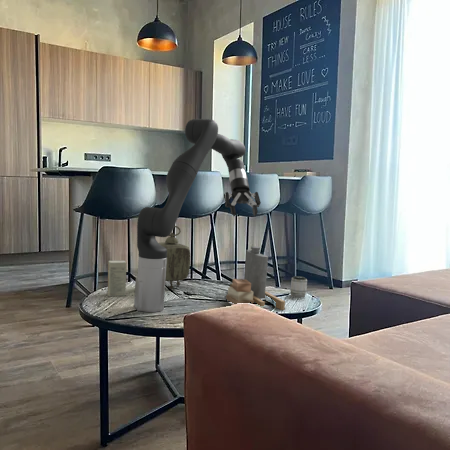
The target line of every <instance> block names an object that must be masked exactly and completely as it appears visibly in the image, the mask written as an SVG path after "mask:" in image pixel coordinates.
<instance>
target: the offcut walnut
mask: <svg viewBox="0 0 450 450" xmlns="http://www.w3.org/2000/svg"><path fill="white" fill-rule="evenodd" d="M226 299H227V300H228V301H230V302H232V303H234V304H237V303H250V302H251V303H252V304H253V303H254V300H243V301H238V300H236V299H234V298H232V297H230V296H228V294H226V297H225V300H226Z"/></svg>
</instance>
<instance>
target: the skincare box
mask: <svg viewBox="0 0 450 450" xmlns="http://www.w3.org/2000/svg"><path fill="white" fill-rule="evenodd" d="M107 265H108V266H107V269H108V270H107V296H109V297H112V296H115V297H118V296H120V297H121V296H126V292H127V291H126V286H127V284H126V283H127V281H126V280H127V261H126V260H108V263H107Z"/></svg>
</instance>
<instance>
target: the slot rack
mask: <svg viewBox="0 0 450 450" xmlns="http://www.w3.org/2000/svg"><path fill="white" fill-rule="evenodd" d="M229 287H232V283H230V284H229ZM265 295H266V296H268V297H270V298H272V299H273V300H274V301H275V302H276V307H275V308H277V309H278V310H280V311H282V310H283V311H285V309H286V308H285V307H286V301H285V300H283V299H281V298H280V297H277V296H276V295H274V294H272V293H270V292H269V291H266V290H265ZM253 300H254V302H256V303H257V304H258V305H260V306H264V305H266V301H262V300H261V299H259V298H257V297H255V296H254V295H253Z"/></svg>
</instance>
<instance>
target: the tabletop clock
mask: <svg viewBox="0 0 450 450" xmlns="http://www.w3.org/2000/svg"><path fill="white" fill-rule="evenodd" d="M174 228H176V229H177V230H178V231H179V232H178V233H176V234H175V233H174V232H171V234H170V235H169V236H167V238H166V239H165V240H164V241H163V242H158V243H159V244H160V245H161V246H163V247H165V248H166V249H167V264H166V279H165V282H169V283H170V286H169V290H174V285H173V282H175V283H176V286H180V285H181V282H180V281H183V280H185V279H187V278H188V276H189V273H190V267H191V251H190V247H189V246H187V245H184V244H182V243H179V240H178V239H177V238H176V237H177V236H179V235H180V233H181V228H180V227H179V226H177V225H175V226H174Z"/></svg>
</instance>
